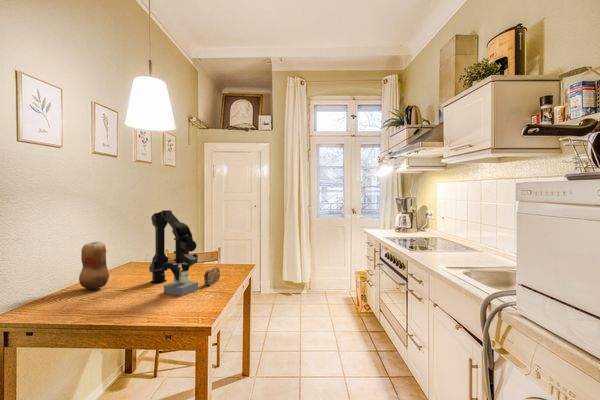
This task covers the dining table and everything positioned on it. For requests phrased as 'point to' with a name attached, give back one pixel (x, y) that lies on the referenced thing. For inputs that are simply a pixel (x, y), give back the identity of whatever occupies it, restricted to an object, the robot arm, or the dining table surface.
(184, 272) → the cube
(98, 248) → the butternut squash
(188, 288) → the plinth
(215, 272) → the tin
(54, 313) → the dining table surface
